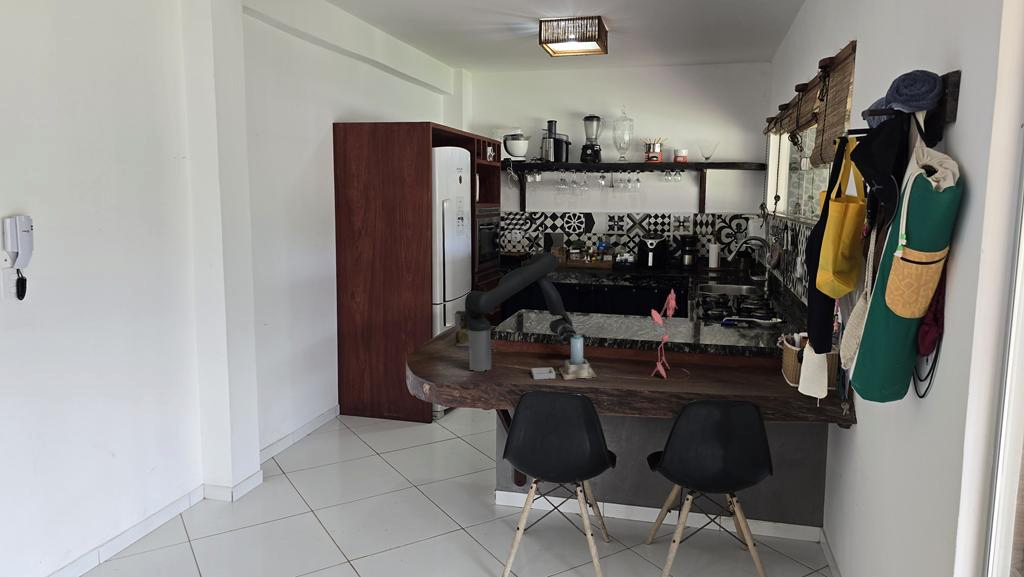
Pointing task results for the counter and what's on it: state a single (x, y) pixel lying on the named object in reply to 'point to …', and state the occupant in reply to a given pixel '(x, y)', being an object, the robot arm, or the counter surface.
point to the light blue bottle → (576, 350)
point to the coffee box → (461, 329)
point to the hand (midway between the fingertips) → (572, 343)
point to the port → (577, 370)
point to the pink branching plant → (658, 319)
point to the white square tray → (543, 373)
